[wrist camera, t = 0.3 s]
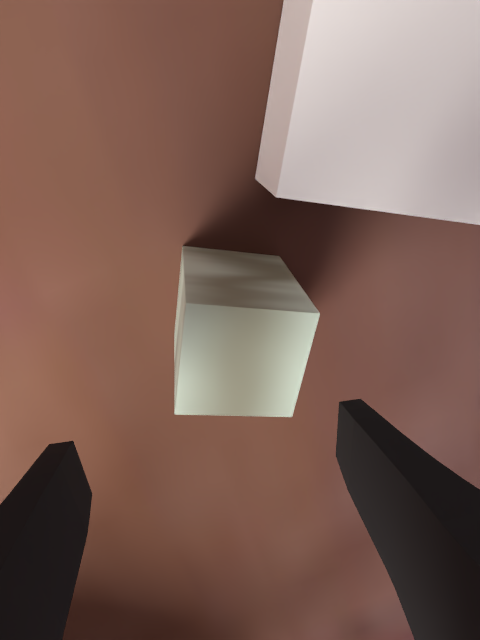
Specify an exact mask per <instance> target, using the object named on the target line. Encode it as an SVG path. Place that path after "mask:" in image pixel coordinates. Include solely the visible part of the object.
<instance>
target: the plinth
mask: <svg viewBox="0 0 480 640" xmlns="http://www.w3.org/2000/svg"><path fill="white" fill-rule="evenodd" d="M255 179H256V180H257V181H258V182H259V183H260V184H261V185H263V186H264V187H265V188H266V189H267V190H268V191H269V192H271V193H272V194H273V195H274V196H275V197H277V198H285V199H292V200H299V201H307V202H314V203H322V204H329V205H337V206H344V207H351V208H359V209H366V210H374V211H381V212H388V213H396V214H403V215H411V216H418V217H426V218H433V219H440V220H448V221H455V222H463V223H470V224H477V225H480V0H284V2H283V9H282V15H281V21H280V27H279V33H278V40H277V46H276V52H275V58H274V64H273V70H272V77H271V83H270V89H269V95H268V101H267V107H266V114H265V120H264V126H263V132H262V138H261V144H260V151H259V157H258V163H257V169H256V175H255Z"/></svg>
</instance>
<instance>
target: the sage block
mask: <svg viewBox="0 0 480 640" xmlns="http://www.w3.org/2000/svg"><path fill="white" fill-rule="evenodd" d="M319 315H320V313H319V311H318V310H317V309H316V307H315V306H314V304H313V303H312V301H311V300H310V299H309V297H308V296H307V294H306V293H305V292H304V290H303V289H302V287H301V286H300V284H299V283H298V282H297V280H296V279H295V277H294V276H293V275H292V273H291V272H290V270H289V269H288V267H287V266H286V265H285V263H284V262H283V260H282V259H281V258H280V256H274V255H265V254H255V253H246V252H236V251H227V250H217V249H208V248H198V247H189V246H182V257H181V268H180V279H179V289H178V300H177V311H176V322H175V333H174V361H175V414H179V415H223V416H268V417H292V415H293V412H294V408H295V404H296V401H297V397H298V393H299V389H300V386H301V382H302V378H303V375H304V371H305V367H306V364H307V360H308V356H309V352H310V349H311V345H312V341H313V338H314V334H315V330H316V327H317V323H318V319H319Z"/></svg>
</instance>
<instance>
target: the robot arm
mask: <svg viewBox="0 0 480 640" xmlns="http://www.w3.org/2000/svg"><path fill="white" fill-rule="evenodd" d="M336 457H337V460H338V463H339V466H340V469H341V472H342V475H343V478H344V480H345V483H346V486H347V489H348V491H349V493H350V495H351V497H352V500H353V502H354V504H355V506H356V508H357V510H358V512H359V514H360V516H361V518H362V520H363V522H364V524H365V526H366V528H367V530H368V533H369V535H370V537H371V539H372V541H373V543H374V545H375V547H376V549H377V551H378V553H379V555H380V557H381V559H382V561H383V563H384V565H385V567H386V569H387V571H388V574H389V576H390V578H391V580H392V583H393V585H394V587H395V590H396V592H397V595H398V597H399V600H400V603H401V605H402V608H403V610H404V613H405V615H406V618H407V621H408V623H409V626H410V628H411V631H412V634H413V636H414V639H415V640H480V490H479V489H478V488H476V487H475V486H473V485H472V484H470V483H469V482H467V481H466V480H464V479H463V478H461V477H460V476H458V475H457V474H456V473H454V472H453V471H451V470H450V469H448V468H447V467H446V466H444V465H443V464H441V463H440V462H439V461H437V460H436V459H435V458H433V457H432V456H430V455H429V454H428V453H427V452H425V451H424V450H423V449H421V448H420V447H419V446H418V445H416V444H415V443H414V442H412V441H411V440H410V439H409V438H407V437H406V436H405V435H404V434H402V433H401V432H400V431H399V430H397V429H396V428H395V427H394V426H393V425H391V424H390V423H389V422H388V421H387V420H385V419H384V418H383V417H382V416H381V415H379V414H378V413H377V412H376V411H375V410H373V409H372V408H371V407H370V406H369V405H367V404H366V403H365V402H364V401H362V400H361V399H356V400H349V401H342V402H339V414H338V429H337V445H336ZM91 499H92V492H91V489H90V486H89V484H88V481H87V478H86V475H85V473H84V470H83V467H82V464H81V461H80V459H79V456H78V453H77V450H76V448H75V445H74V442H73V441H69V442H62V443H55V444H49V445H48V446H47V448H46V449H45V450H44V451H43V452H42V454H41V455H40V456H39V457H38V459H37V460H36V461H35V462H34V464H33V465H32V466H31V467H30V469H29V470H28V471H27V472H26V474H25V475H24V476H23V477H22V479H21V480H20V481H19V482H18V484H17V485H16V486H15V487H14V489H13V490H12V491H11V492H10V494H9V495H8V496H7V497H6V498H5V500H4V501H3V502H2V503H1V504H0V640H62V638H63V633H64V629H65V625H66V621H67V616H68V612H69V608H70V604H71V600H72V596H73V592H74V588H75V584H76V580H77V575H78V571H79V567H80V563H81V559H82V555H83V550H84V546H85V542H86V537H87V533H88V525H89V518H90V509H91Z"/></svg>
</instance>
